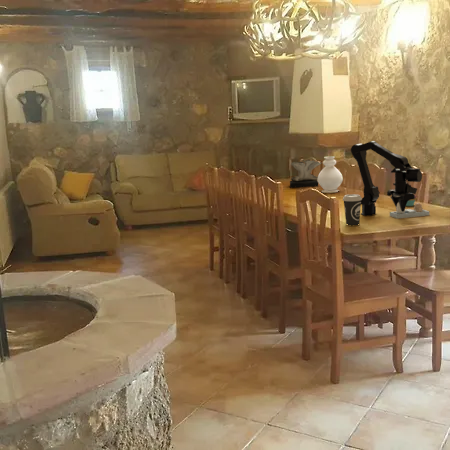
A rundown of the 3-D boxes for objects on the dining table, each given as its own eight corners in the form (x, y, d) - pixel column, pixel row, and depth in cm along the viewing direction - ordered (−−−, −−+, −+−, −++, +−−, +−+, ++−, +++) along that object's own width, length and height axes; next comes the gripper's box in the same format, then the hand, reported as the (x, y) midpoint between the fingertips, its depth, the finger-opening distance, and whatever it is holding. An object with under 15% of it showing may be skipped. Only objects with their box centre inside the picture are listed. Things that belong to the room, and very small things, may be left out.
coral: (321, 184, 427) (320, 157, 423) (322, 187, 408) (322, 159, 403) (289, 185, 431) (288, 158, 426) (289, 189, 411) (288, 161, 407)
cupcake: (406, 207, 308) (407, 186, 305) (398, 205, 316) (398, 185, 314) (419, 205, 310) (420, 185, 308) (411, 203, 318) (411, 183, 316)
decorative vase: (312, 191, 390) (311, 157, 385) (333, 188, 397) (332, 155, 392) (327, 194, 374) (326, 158, 369) (348, 191, 381) (347, 156, 376)
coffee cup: (359, 222, 277) (359, 193, 274) (364, 225, 267) (364, 196, 264) (341, 223, 276) (340, 194, 273) (345, 227, 267) (345, 197, 264)
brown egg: (416, 215, 280) (416, 204, 279) (411, 214, 285) (411, 202, 284) (424, 214, 281) (424, 203, 280) (419, 213, 286) (419, 202, 284)
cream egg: (406, 213, 279) (407, 201, 278) (398, 214, 278) (398, 202, 277) (402, 211, 284) (402, 200, 282) (394, 212, 283) (394, 201, 282)
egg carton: (397, 219, 277) (397, 213, 276) (389, 216, 285) (389, 210, 284) (429, 216, 280) (429, 209, 279) (421, 213, 288) (421, 207, 287)
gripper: (424, 181, 270) (424, 212, 273) (405, 178, 288) (405, 206, 291) (404, 183, 268) (404, 214, 271) (386, 179, 286) (386, 208, 289)
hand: (400, 210), depth 281 cm, fingers closed on cream egg, 4 cm apart
